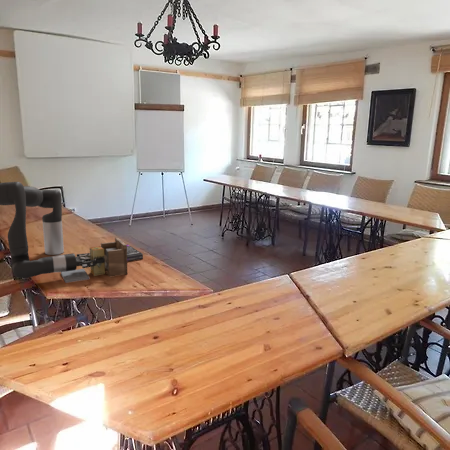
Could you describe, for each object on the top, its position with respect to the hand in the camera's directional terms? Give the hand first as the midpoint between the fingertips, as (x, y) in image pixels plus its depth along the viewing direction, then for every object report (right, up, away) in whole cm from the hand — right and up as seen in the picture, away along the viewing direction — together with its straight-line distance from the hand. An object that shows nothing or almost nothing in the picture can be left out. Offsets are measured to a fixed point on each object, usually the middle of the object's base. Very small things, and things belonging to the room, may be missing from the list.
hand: (102, 258), depth 183 cm
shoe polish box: (-2, -7, 0) cm, 8 cm away
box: (+3, -2, +26) cm, 26 cm away
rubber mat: (-11, -8, -5) cm, 14 cm away
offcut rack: (+4, -6, +4) cm, 9 cm away
